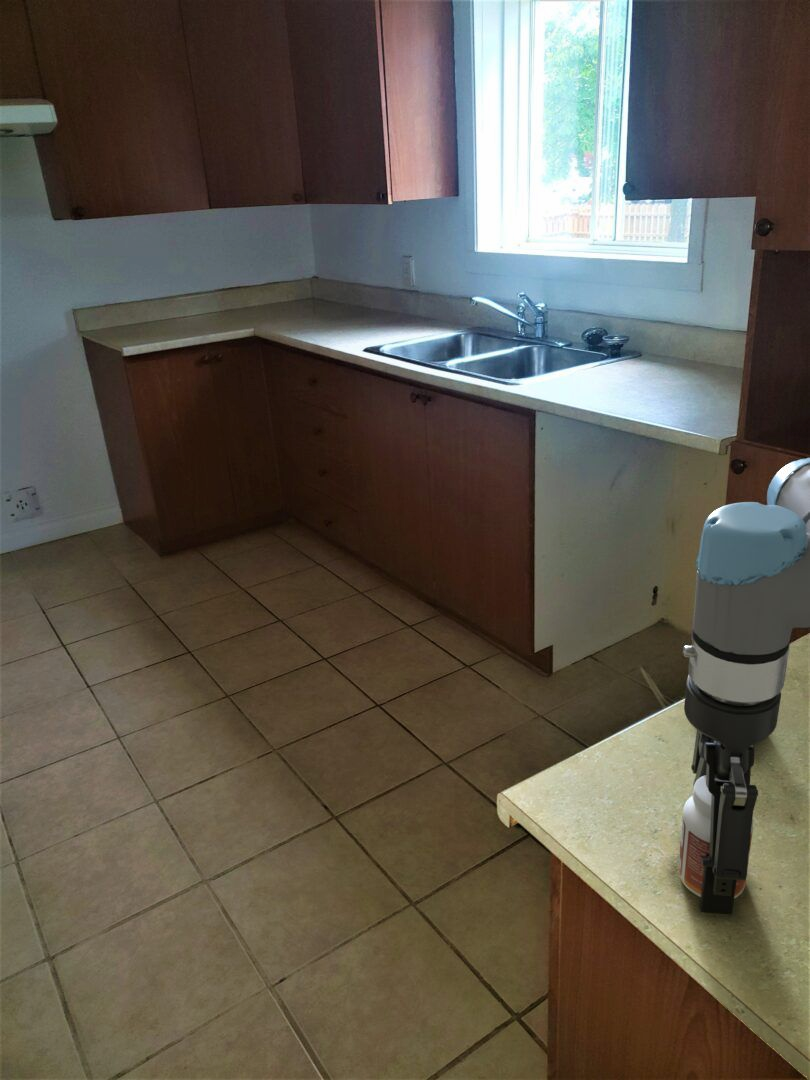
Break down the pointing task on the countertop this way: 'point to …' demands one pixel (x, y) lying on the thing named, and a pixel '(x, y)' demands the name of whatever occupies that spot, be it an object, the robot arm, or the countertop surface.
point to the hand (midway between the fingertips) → (709, 876)
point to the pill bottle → (698, 838)
